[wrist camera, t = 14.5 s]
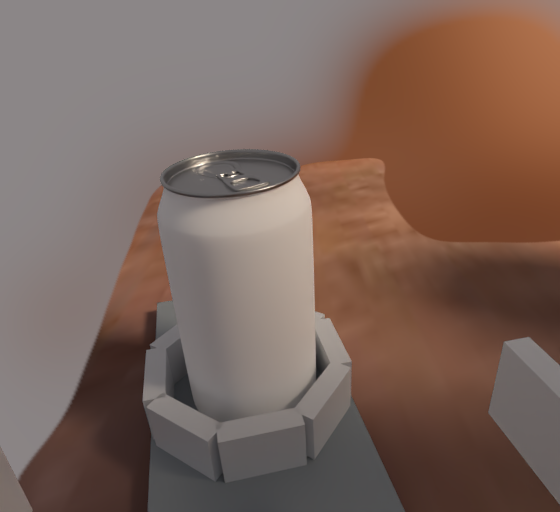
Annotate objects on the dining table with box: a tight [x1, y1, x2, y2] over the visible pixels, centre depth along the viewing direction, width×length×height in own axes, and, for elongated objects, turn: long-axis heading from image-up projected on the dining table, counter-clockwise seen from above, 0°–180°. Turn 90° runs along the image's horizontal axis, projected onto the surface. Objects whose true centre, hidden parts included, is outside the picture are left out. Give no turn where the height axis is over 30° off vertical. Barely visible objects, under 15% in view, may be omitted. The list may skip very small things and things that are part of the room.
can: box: [157, 149, 316, 423], centre depth 22 cm, size 6×6×12 cm
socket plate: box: [143, 301, 405, 512], centre depth 24 cm, size 10×20×4 cm, turn 12°
